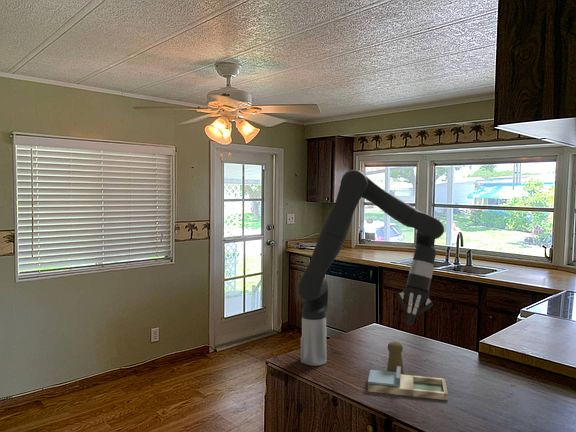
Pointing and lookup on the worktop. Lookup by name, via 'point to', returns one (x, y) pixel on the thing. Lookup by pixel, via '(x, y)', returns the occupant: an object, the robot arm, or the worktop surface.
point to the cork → (395, 357)
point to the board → (415, 387)
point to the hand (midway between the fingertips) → (408, 324)
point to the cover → (385, 377)
